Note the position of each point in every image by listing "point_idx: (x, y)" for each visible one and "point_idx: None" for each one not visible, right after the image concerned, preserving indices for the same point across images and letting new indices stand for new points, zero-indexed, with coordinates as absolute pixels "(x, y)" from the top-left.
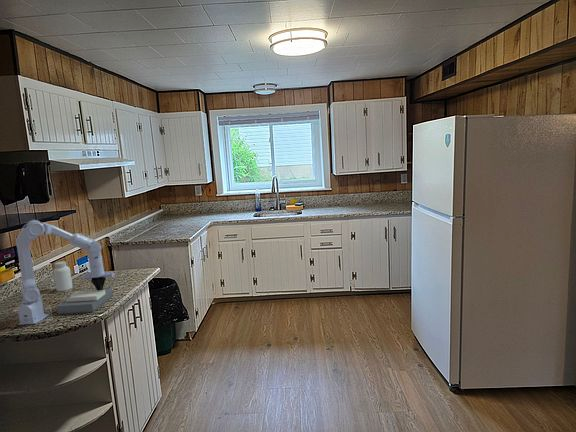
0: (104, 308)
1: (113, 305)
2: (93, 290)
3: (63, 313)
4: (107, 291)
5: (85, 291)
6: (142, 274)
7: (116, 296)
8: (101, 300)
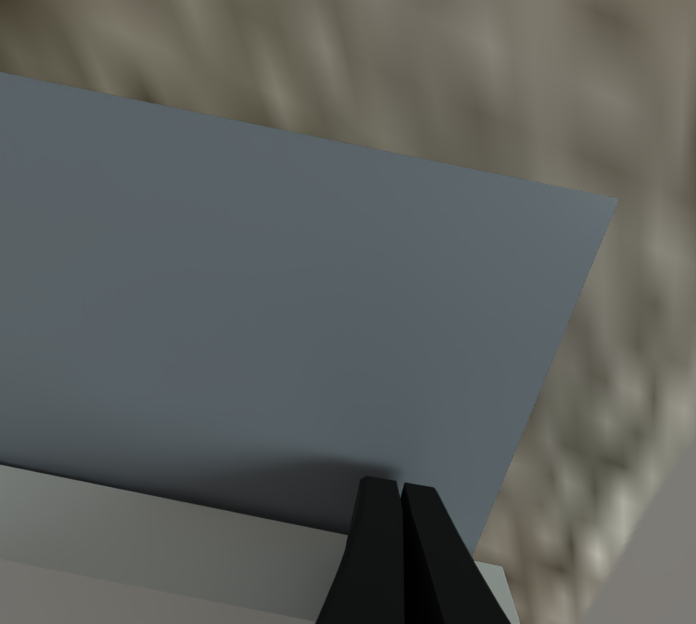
0: None
1: (570, 578)
2: (100, 182)
3: None
4: (516, 412)
5: (43, 588)
6: None
7: None
8: None
